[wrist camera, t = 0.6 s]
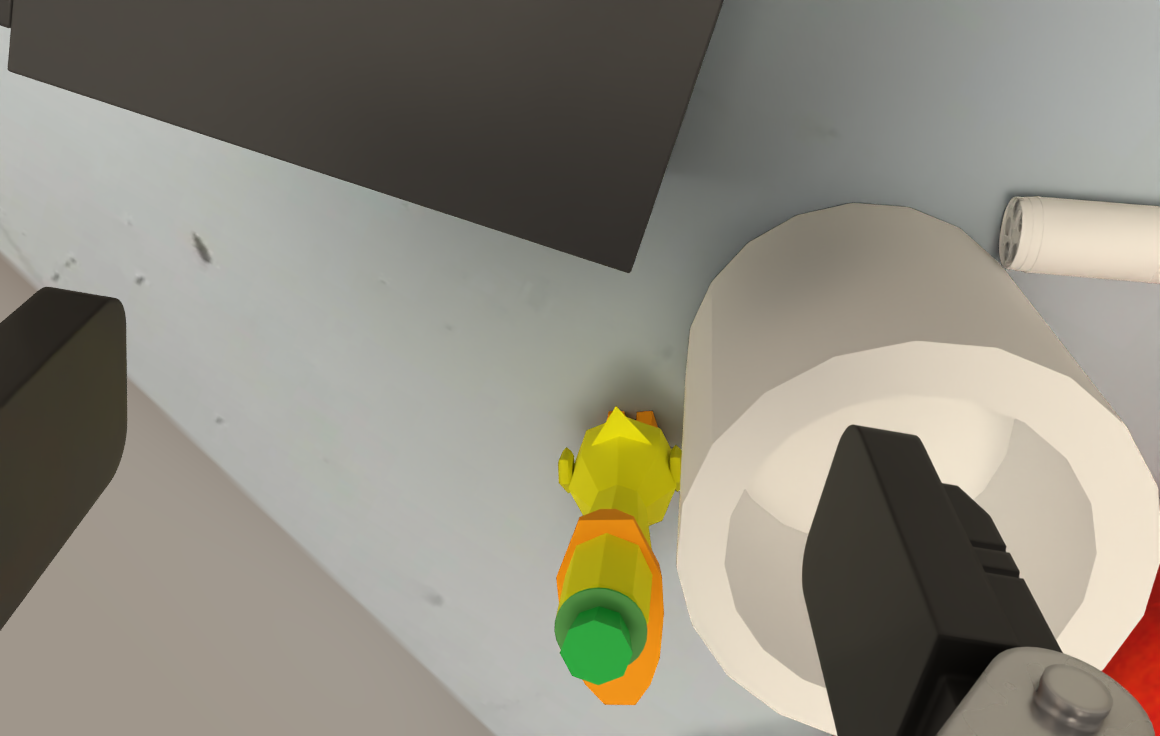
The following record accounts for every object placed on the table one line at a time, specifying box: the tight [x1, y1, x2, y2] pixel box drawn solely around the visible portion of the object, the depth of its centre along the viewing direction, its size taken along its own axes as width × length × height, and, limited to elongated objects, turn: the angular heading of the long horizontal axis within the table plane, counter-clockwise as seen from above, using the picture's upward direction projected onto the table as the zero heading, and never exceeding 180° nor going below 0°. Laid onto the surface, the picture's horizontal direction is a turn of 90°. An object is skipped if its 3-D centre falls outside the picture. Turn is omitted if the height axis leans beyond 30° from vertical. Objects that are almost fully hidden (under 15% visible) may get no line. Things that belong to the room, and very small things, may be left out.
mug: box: [676, 203, 1160, 736], centre depth 29 cm, size 14×10×11 cm
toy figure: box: [555, 406, 682, 705], centre depth 30 cm, size 7×4×12 cm, turn 5°
